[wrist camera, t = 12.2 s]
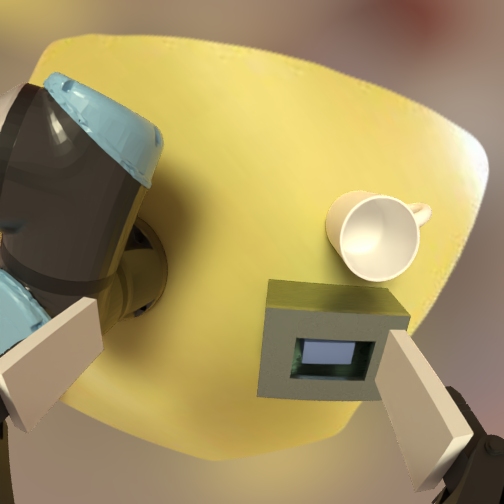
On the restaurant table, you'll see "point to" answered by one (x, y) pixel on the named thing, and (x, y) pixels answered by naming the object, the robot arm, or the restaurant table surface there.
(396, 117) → the restaurant table surface
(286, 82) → the restaurant table surface
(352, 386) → the coin box
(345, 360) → the blue block
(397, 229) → the mug
